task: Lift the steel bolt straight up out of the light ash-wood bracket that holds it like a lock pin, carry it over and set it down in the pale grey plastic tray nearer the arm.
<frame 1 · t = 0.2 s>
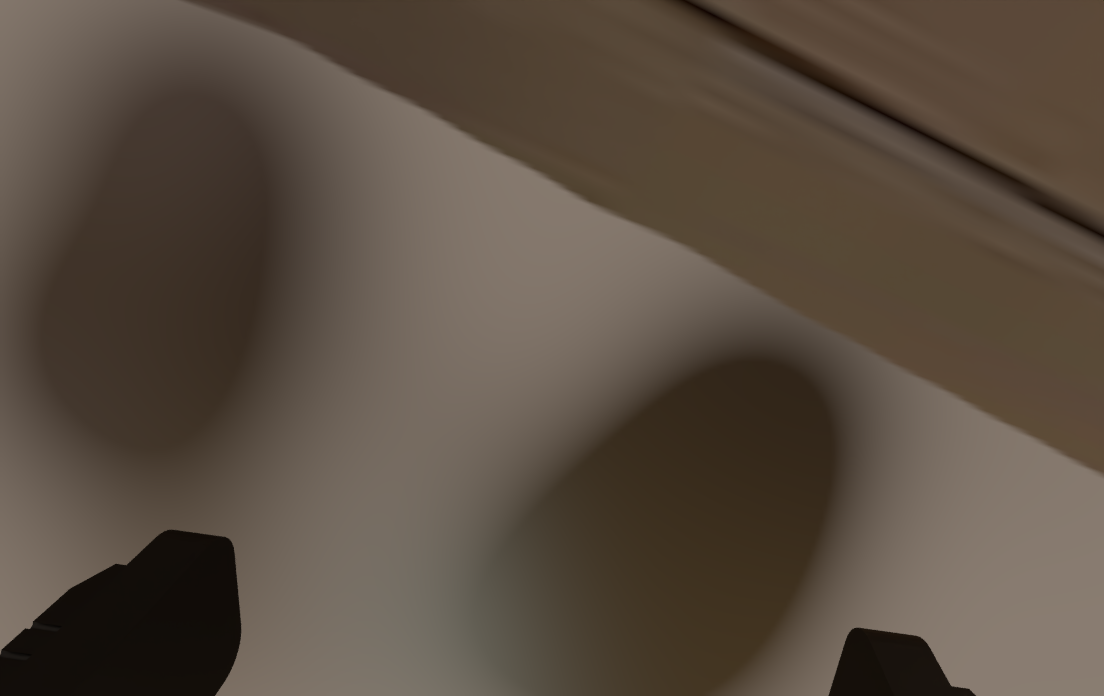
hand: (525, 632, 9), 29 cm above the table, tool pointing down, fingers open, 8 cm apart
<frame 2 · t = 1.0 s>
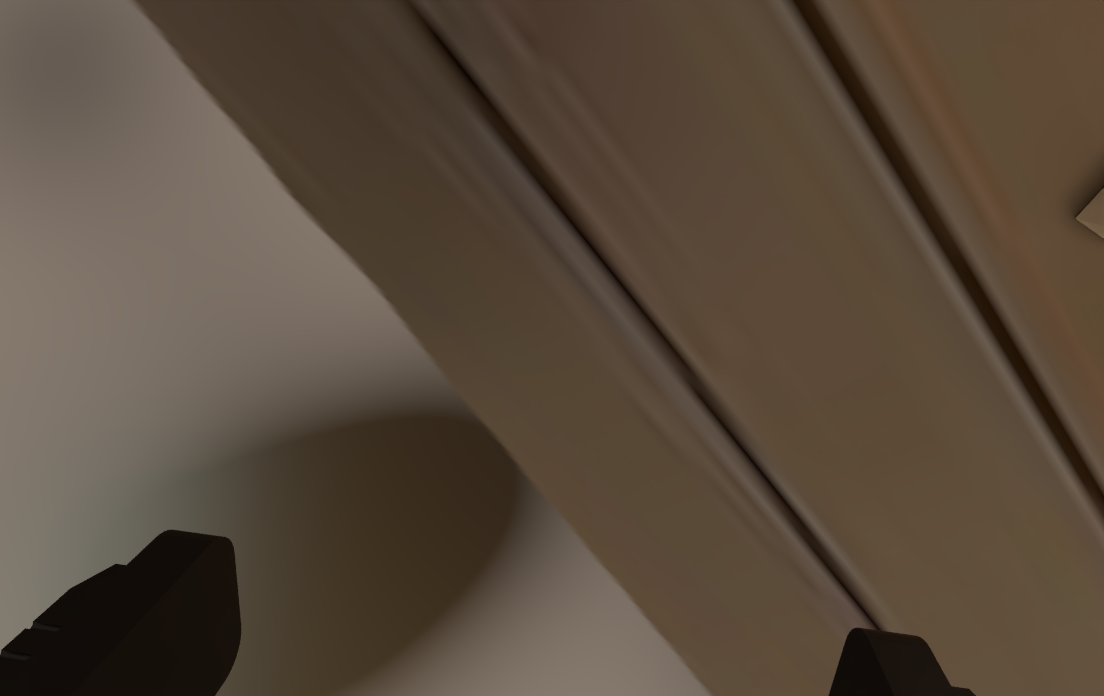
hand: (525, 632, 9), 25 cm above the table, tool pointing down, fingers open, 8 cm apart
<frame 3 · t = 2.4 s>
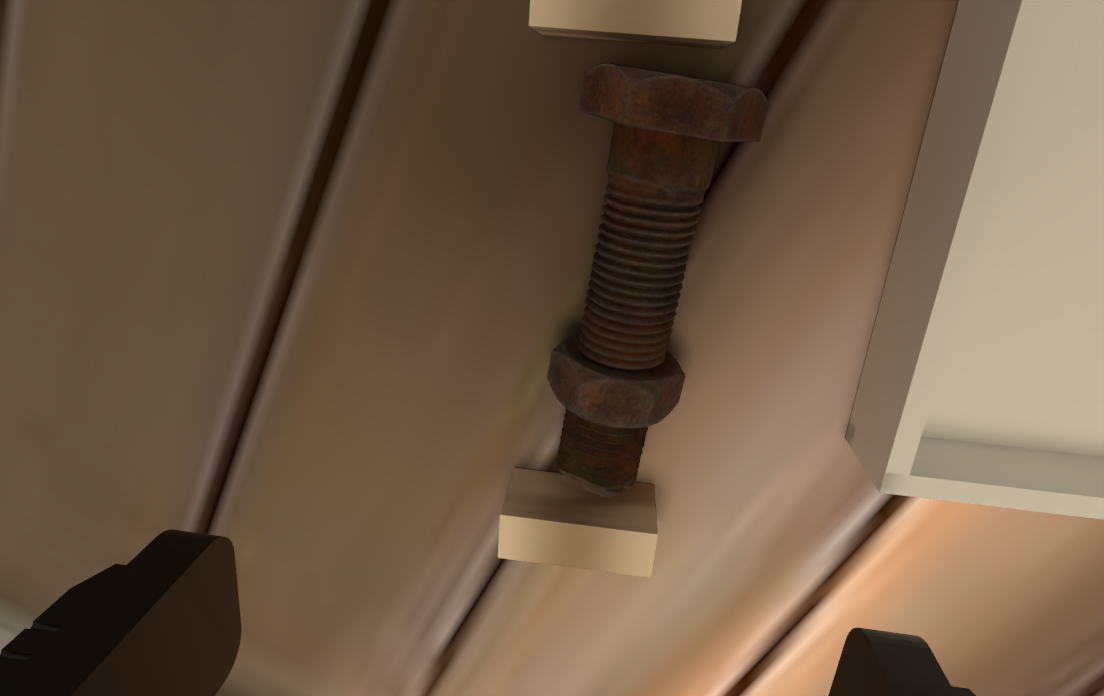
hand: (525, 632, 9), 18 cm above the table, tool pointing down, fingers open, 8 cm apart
bolt: (627, 281, 26), on the table
pin bracket: (604, 284, 26), on the table
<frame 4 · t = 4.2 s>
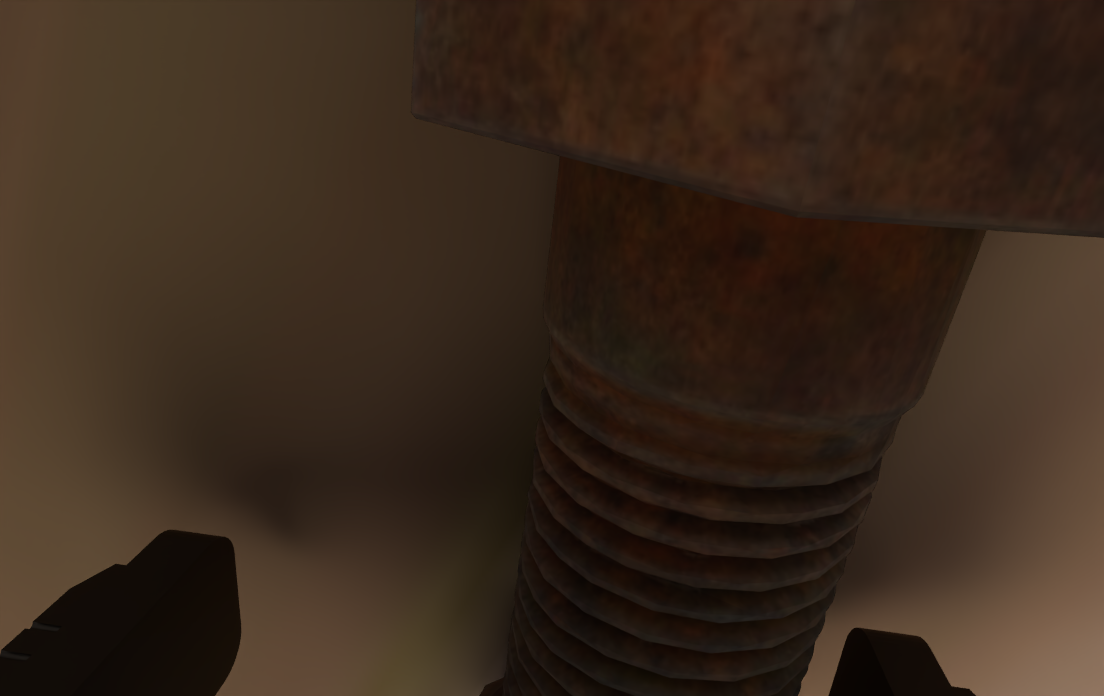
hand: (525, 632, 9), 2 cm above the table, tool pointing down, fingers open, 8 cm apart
bolt: (568, 538, 10), on the table
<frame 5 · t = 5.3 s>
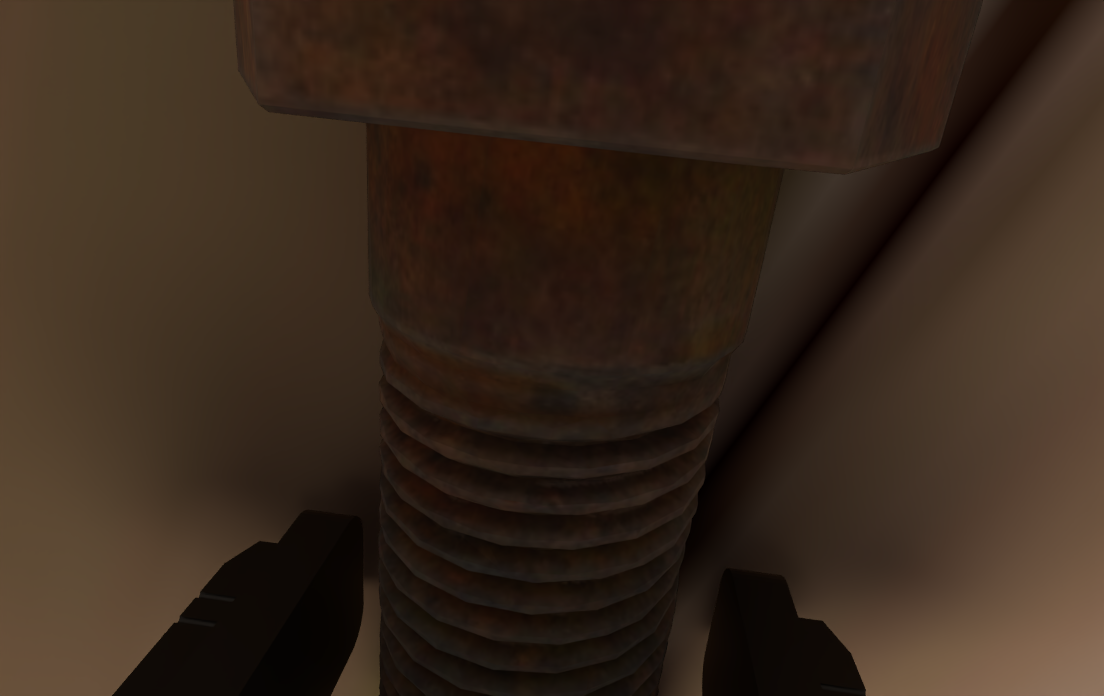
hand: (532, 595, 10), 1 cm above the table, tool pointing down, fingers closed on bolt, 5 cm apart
bolt: (536, 521, 10), on the table, touching gripper
when the fingers open (3 cm above the table, at t = 11.5 s): bolt drops 1 cm, resting on tray.
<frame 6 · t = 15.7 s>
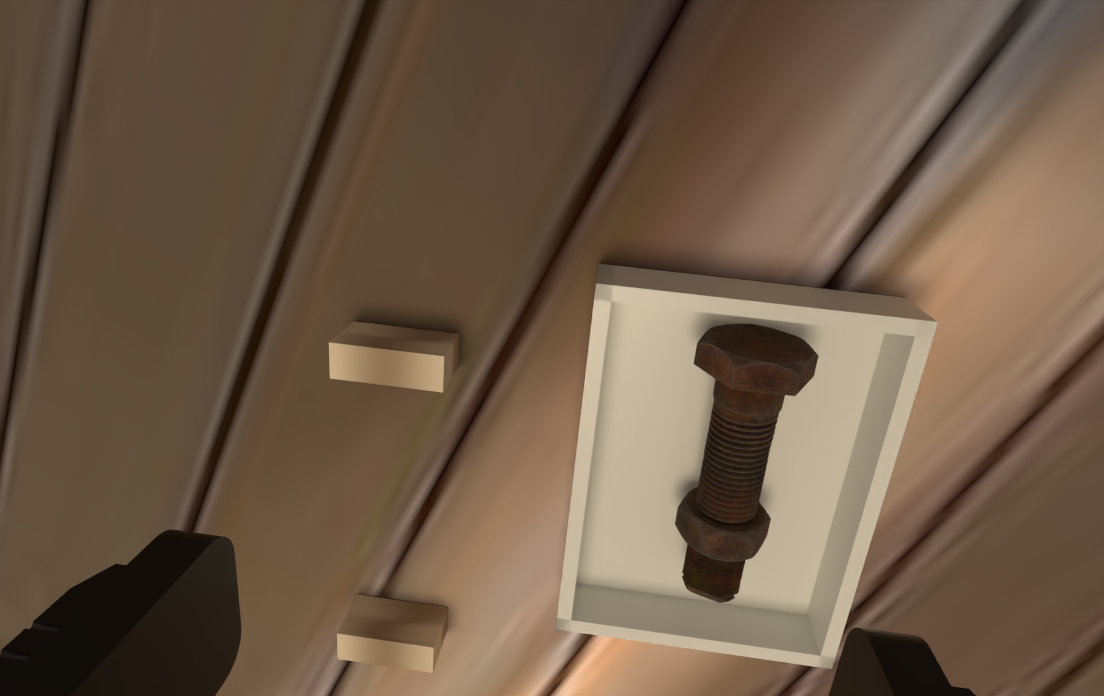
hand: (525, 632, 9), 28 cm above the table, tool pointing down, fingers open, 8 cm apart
bolt: (723, 450, 38), point 1 cm above the table, touching tray
tray: (714, 455, 39), on the table
pin bracket: (404, 489, 42), on the table
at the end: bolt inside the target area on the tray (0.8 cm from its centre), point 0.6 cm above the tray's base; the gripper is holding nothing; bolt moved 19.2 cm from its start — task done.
